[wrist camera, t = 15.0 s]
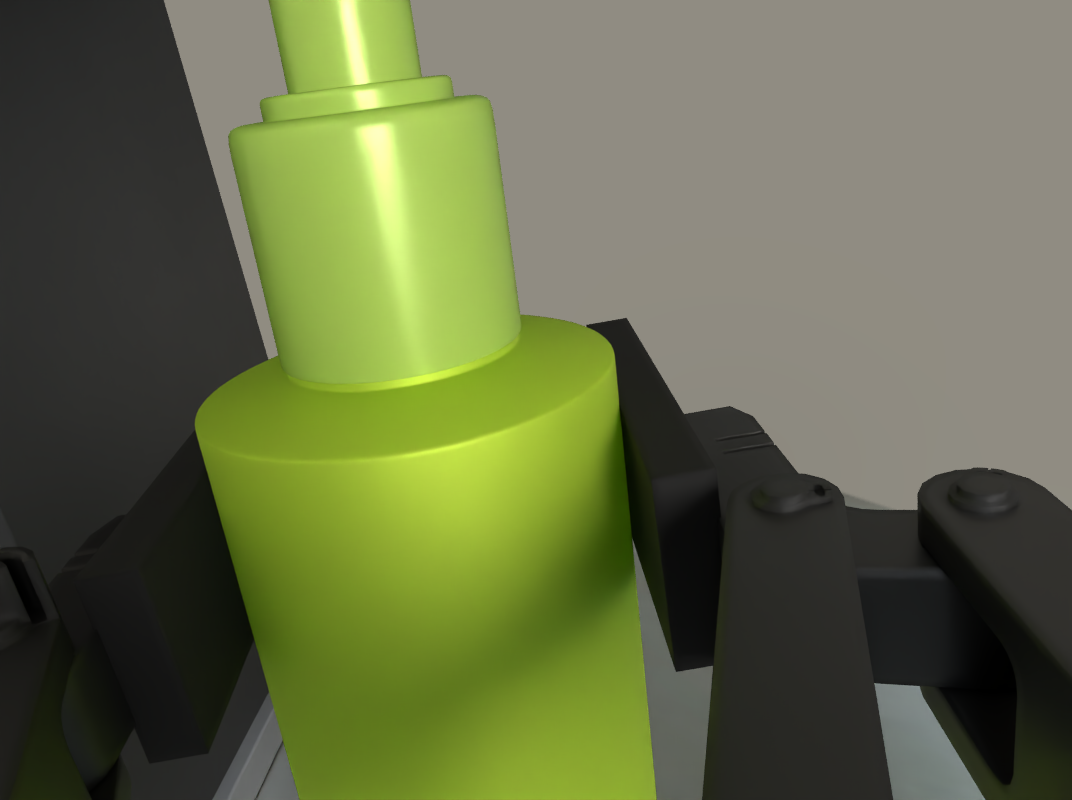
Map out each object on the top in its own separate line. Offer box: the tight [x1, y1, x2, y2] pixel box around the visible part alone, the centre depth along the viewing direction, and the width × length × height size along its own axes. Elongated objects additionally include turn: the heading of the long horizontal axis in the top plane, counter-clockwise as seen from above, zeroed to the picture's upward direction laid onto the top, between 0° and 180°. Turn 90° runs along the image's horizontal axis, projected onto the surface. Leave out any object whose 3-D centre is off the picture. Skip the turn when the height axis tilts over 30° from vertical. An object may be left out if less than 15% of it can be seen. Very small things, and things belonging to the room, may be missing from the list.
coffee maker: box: [0, 0, 283, 800], centre depth 23 cm, size 22×14×28 cm, turn 86°
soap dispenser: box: [195, 0, 657, 800], centre depth 13 cm, size 6×7×20 cm
